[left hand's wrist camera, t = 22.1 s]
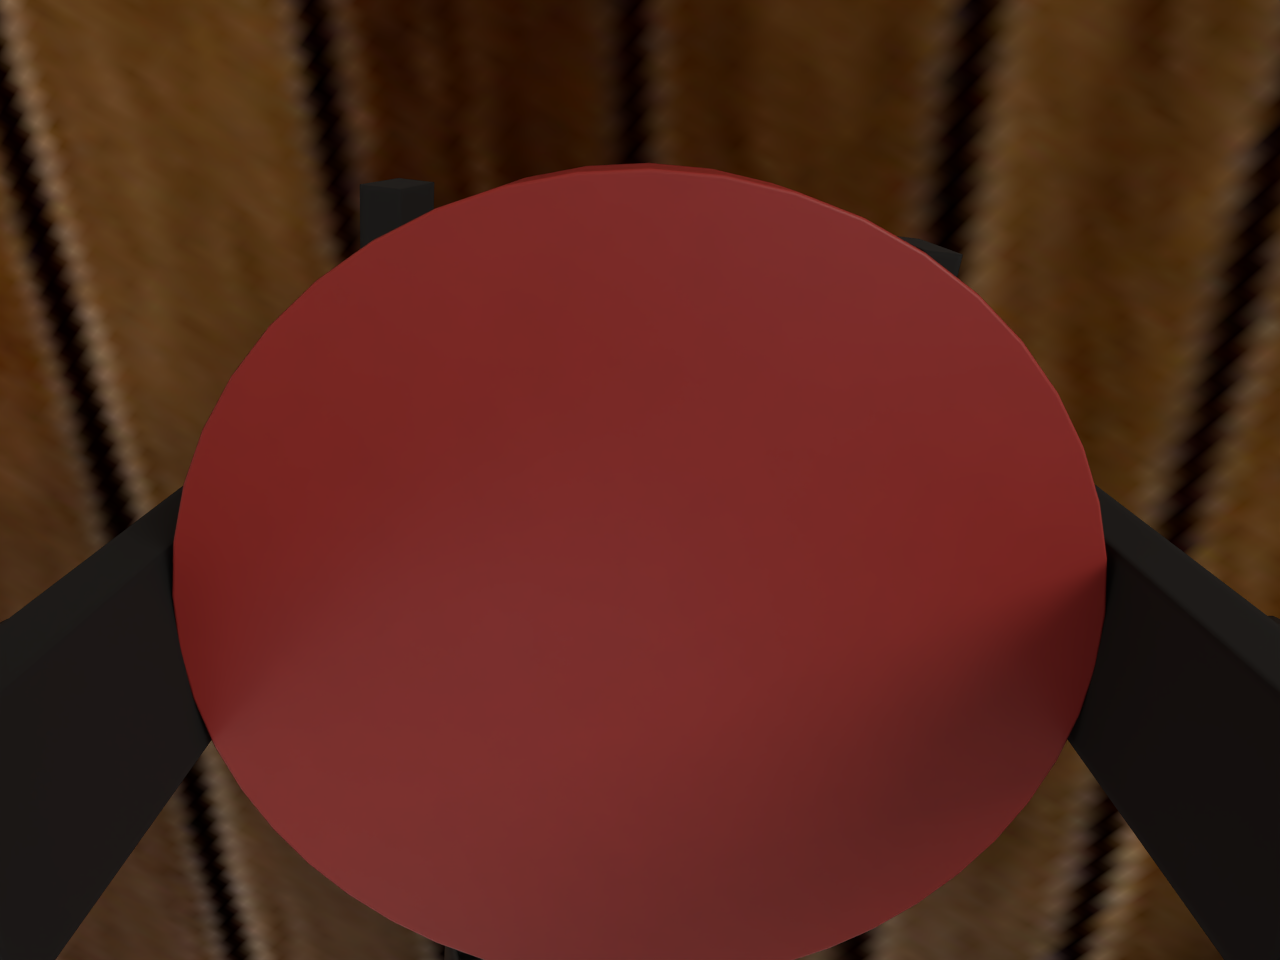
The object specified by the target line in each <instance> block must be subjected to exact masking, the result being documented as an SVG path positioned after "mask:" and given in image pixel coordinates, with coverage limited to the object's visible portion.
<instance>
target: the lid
mask: <svg viewBox="0 0 1280 960" xmlns="http://www.w3.org/2000/svg"><path fill="white" fill-rule="evenodd" d="M1106 571H1107V556H1106V548H1105V541H1104V533H1103V525H1102V517H1101V509H1100V502H1099V499H1098V495H1097V492H1096V488H1095V485H1094V482H1093V478H1092V475H1091V471H1090V468H1089V464H1088V461H1087V458H1086V454H1085V451H1084V447H1083V445H1082V443H1081V441H1080V439H1079V437H1078V435H1077V432H1076V430H1075V428H1074V426H1073V424H1072V422H1071V420H1070V418H1069V416H1068V413H1067V411H1066V409H1065V407H1064V405H1063V403H1062V401H1061V399H1060V397H1059V394H1058V393H1057V391H1056V390H1055V388H1054V387H1053V385H1052V384H1051V382H1050V381H1049V379H1048V378H1047V376H1046V375H1045V374H1044V372H1043V371H1042V369H1041V368H1040V366H1039V365H1038V363H1037V362H1036V360H1035V359H1034V357H1033V356H1032V355H1031V353H1030V352H1029V350H1028V349H1027V347H1026V346H1025V344H1024V343H1023V341H1022V340H1021V339H1020V338H1019V337H1018V336H1017V335H1016V334H1015V333H1014V332H1013V331H1012V330H1011V329H1010V328H1009V326H1008V325H1007V324H1006V323H1005V322H1004V321H1003V320H1002V319H1001V318H1000V317H999V316H998V315H997V314H996V313H995V312H994V311H993V309H992V308H991V307H990V306H989V305H988V304H987V303H986V302H985V301H984V300H983V299H982V298H981V297H980V296H979V295H978V294H977V293H976V292H975V291H973V290H972V289H971V288H970V287H968V286H967V285H966V284H965V283H963V282H962V281H961V280H959V279H958V278H957V277H956V276H954V275H953V274H952V273H951V272H949V271H948V270H947V269H945V268H944V267H943V266H942V265H940V264H939V263H938V262H936V261H935V260H934V259H933V258H931V257H930V256H929V255H928V254H926V253H925V252H923V251H922V250H920V249H918V248H916V247H914V246H913V245H911V244H909V243H907V242H906V241H904V240H902V239H900V238H899V237H897V236H895V235H893V234H892V233H890V232H888V231H886V230H885V229H883V228H881V227H879V226H878V225H876V224H874V223H872V222H871V221H869V220H867V219H865V218H863V217H861V216H858V215H856V214H853V213H851V212H848V211H845V210H843V209H840V208H838V207H835V206H833V205H830V204H828V203H825V202H822V201H820V200H817V199H815V198H812V197H810V196H807V195H805V194H802V193H799V192H797V191H794V190H791V189H788V188H785V187H782V186H779V185H776V184H773V183H770V182H765V181H761V180H757V179H753V178H748V177H744V176H740V175H736V174H731V173H727V172H723V171H719V170H715V169H708V168H697V167H687V166H676V165H665V164H654V163H640V164H620V165H599V166H585V167H579V168H574V169H569V170H564V171H558V172H553V173H548V174H542V175H537V176H532V177H527V178H523V179H520V180H517V181H515V182H512V183H509V184H506V185H503V186H500V187H497V188H494V189H491V190H488V191H485V192H482V193H479V194H476V195H474V196H471V197H468V198H465V199H462V200H459V201H456V202H453V203H450V204H447V205H444V206H441V207H438V208H435V209H433V210H431V211H429V212H427V213H425V214H424V215H422V216H420V217H418V218H416V219H414V220H412V221H410V222H408V223H406V224H404V225H402V226H400V227H398V228H396V229H394V230H392V231H390V232H388V233H386V234H384V235H382V236H380V237H379V238H377V239H375V240H373V241H371V242H370V243H368V244H367V245H365V246H364V247H363V248H361V249H360V250H358V251H357V252H356V253H354V254H353V255H351V256H350V257H349V258H347V259H346V260H344V261H343V262H342V263H340V264H339V265H337V266H336V267H335V268H333V269H332V270H330V271H329V272H328V273H326V274H325V275H323V276H322V277H321V278H319V279H318V280H316V281H315V282H314V283H313V284H312V285H311V286H310V287H309V288H308V289H307V290H306V291H305V292H304V293H303V294H302V295H301V296H300V297H299V298H298V299H297V300H296V301H295V302H294V303H293V304H292V305H291V306H289V307H288V308H287V309H286V310H285V311H284V312H283V313H282V314H281V315H280V316H279V317H278V318H277V319H276V320H275V321H274V322H273V323H272V324H271V325H270V326H269V327H268V328H267V330H266V331H265V332H264V334H263V335H262V336H261V338H260V339H259V340H258V342H257V343H256V344H255V346H254V347H253V348H252V350H251V351H250V352H249V353H248V355H247V356H246V357H245V359H244V360H243V361H242V363H241V364H240V365H239V367H238V368H237V369H236V371H235V372H234V373H233V375H232V376H231V378H230V379H229V381H228V383H227V385H226V387H225V389H224V391H223V393H222V394H221V396H220V398H219V400H218V402H217V404H216V406H215V407H214V409H213V411H212V413H211V415H210V417H209V419H208V421H207V422H206V424H205V426H204V428H203V430H202V433H201V436H200V439H199V442H198V444H197V447H196V450H195V453H194V456H193V459H192V462H191V465H190V467H189V470H188V473H187V476H186V479H185V482H184V485H183V490H182V496H181V502H180V507H179V513H178V519H177V524H176V530H175V535H174V541H173V588H172V597H173V605H174V612H175V620H176V627H177V633H178V638H179V643H180V648H181V652H182V656H183V660H184V664H185V668H186V672H187V676H188V680H189V684H190V688H191V691H192V695H193V698H194V701H195V703H196V705H197V708H198V710H199V712H200V714H201V717H202V719H203V721H204V723H205V726H206V728H207V730H208V732H209V735H210V737H211V739H212V741H213V744H214V746H215V747H216V749H217V751H218V752H219V754H220V756H221V757H222V759H223V760H224V762H225V764H226V765H227V767H228V769H229V770H230V772H231V773H232V775H233V777H234V778H235V780H236V782H237V783H238V785H239V786H240V788H241V790H242V791H243V792H244V793H245V795H246V796H247V797H248V798H249V800H250V801H251V802H252V803H253V805H254V806H255V807H256V808H257V809H258V811H259V812H260V813H261V814H262V816H263V817H264V818H265V819H266V821H267V822H268V823H269V824H270V826H271V827H272V828H273V829H274V830H275V831H276V832H277V833H278V834H279V835H280V836H281V837H282V838H283V839H284V840H285V841H286V842H287V843H288V844H289V845H290V846H291V847H292V848H293V849H294V850H295V851H296V852H297V853H298V854H299V855H300V856H301V857H302V858H304V859H305V860H306V861H307V862H308V863H309V864H310V865H311V866H312V867H314V868H315V869H316V870H318V871H319V872H320V873H321V874H323V875H324V876H325V877H327V878H328V879H329V880H330V881H332V882H333V883H334V884H336V885H337V886H338V887H340V888H341V889H342V890H343V891H345V892H346V893H347V894H349V895H350V896H352V897H353V898H355V899H357V900H358V901H360V902H361V903H363V904H365V905H366V906H368V907H370V908H371V909H373V910H375V911H376V912H378V913H379V914H381V915H383V916H384V917H386V918H388V919H389V920H391V921H393V922H395V923H397V924H399V925H401V926H403V927H405V928H407V929H409V930H411V931H414V932H416V933H418V934H420V935H422V936H424V937H426V938H428V939H430V940H432V941H434V942H436V943H439V944H442V945H445V946H447V947H450V948H453V949H456V950H458V951H461V952H464V953H467V954H470V955H472V956H475V957H478V958H481V959H483V960H794V959H798V958H801V957H804V956H807V955H810V954H813V953H816V952H819V951H822V950H825V949H828V948H830V947H833V946H835V945H837V944H839V943H842V942H844V941H846V940H848V939H851V938H853V937H855V936H858V935H860V934H862V933H864V932H867V931H869V930H871V929H873V928H875V927H877V926H879V925H880V924H882V923H884V922H886V921H888V920H889V919H891V918H893V917H895V916H896V915H898V914H900V913H902V912H903V911H905V910H907V909H909V908H910V907H912V906H914V905H916V904H917V903H919V902H920V901H922V900H923V899H924V898H926V897H927V896H928V895H930V894H931V893H933V892H934V891H935V890H937V889H938V888H940V887H941V886H942V885H944V884H945V883H946V882H948V881H949V880H951V879H952V878H953V877H955V876H956V875H958V874H959V873H960V872H961V871H962V870H963V869H964V868H965V867H966V866H968V865H969V864H970V863H971V862H972V861H973V860H974V859H975V858H976V857H978V856H979V855H980V854H981V853H982V852H983V851H984V850H985V849H986V848H987V847H989V846H990V845H991V844H992V843H993V842H994V841H995V840H996V839H997V838H998V837H999V836H1000V834H1001V833H1002V832H1003V831H1004V830H1005V829H1006V827H1007V826H1008V825H1009V824H1010V823H1011V822H1012V821H1013V819H1014V818H1015V817H1016V816H1017V815H1018V814H1019V813H1020V811H1021V810H1022V809H1023V808H1024V807H1025V806H1026V804H1027V803H1028V802H1029V801H1030V799H1031V798H1032V796H1033V795H1034V793H1035V792H1036V790H1037V789H1038V787H1039V786H1040V784H1041V783H1042V781H1043V780H1044V778H1045V777H1046V775H1047V774H1048V772H1049V771H1050V769H1051V768H1052V766H1053V765H1054V763H1055V762H1056V761H1057V759H1058V757H1059V755H1060V753H1061V751H1062V749H1063V747H1064V745H1065V743H1066V741H1067V739H1068V737H1069V734H1070V732H1071V730H1072V728H1073V726H1074V724H1075V722H1076V720H1077V718H1078V716H1079V714H1080V711H1081V708H1082V705H1083V702H1084V699H1085V696H1086V693H1087V690H1088V687H1089V684H1090V681H1091V678H1092V675H1093V671H1094V667H1095V663H1096V658H1097V653H1098V649H1099V644H1100V640H1101V634H1102V629H1103V623H1104V618H1105V609H1106Z"/></svg>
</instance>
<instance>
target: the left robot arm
mask: <svg viewBox="0 0 1280 960" xmlns="http://www.w3.org/2000/svg"><path fill="white" fill-rule="evenodd" d="M1094 485H1095V484H1094ZM1095 488H1096V492H1097V495H1098V499H1099V502H1100V509H1101V517H1102V525H1103V533H1104V541H1105V548H1106V556H1107V571H1106V609H1105V618H1104V623H1103V629H1102V634H1101V640H1100V644H1099V649H1098V653H1097V658H1096V663H1095V667H1094V671H1093V675H1092V678H1091V681H1090V684H1089V687H1088V690H1087V693H1086V696H1085V699H1084V702H1083V705H1082V708H1081V711H1080V714H1079V716H1078V718H1077V720H1076V722H1075V724H1074V726H1073V728H1072V730H1071V732H1070V734H1069V737H1068V741H1069V742H1070V743H1071V745H1072V746H1073V748H1074V749H1075V750H1076V752H1077V753H1078V755H1079V756H1080V758H1081V759H1082V760H1083V762H1084V763H1085V765H1086V766H1087V767H1088V769H1089V770H1090V772H1091V773H1092V774H1093V776H1094V777H1095V779H1096V780H1097V781H1098V783H1099V784H1100V786H1101V787H1102V788H1103V790H1104V791H1105V793H1106V794H1107V795H1108V797H1109V798H1110V800H1111V801H1112V803H1113V804H1114V805H1115V807H1116V808H1117V810H1118V811H1119V812H1120V814H1121V815H1122V817H1123V818H1124V819H1125V821H1126V822H1127V824H1128V825H1129V826H1130V828H1131V829H1132V831H1133V832H1134V833H1135V835H1136V836H1137V838H1138V839H1139V840H1140V842H1141V843H1142V845H1143V846H1144V848H1145V849H1146V850H1147V852H1148V853H1149V855H1150V856H1151V857H1152V859H1153V860H1154V862H1155V863H1156V864H1157V866H1158V867H1159V869H1160V870H1161V871H1162V873H1163V874H1164V876H1165V877H1166V878H1167V880H1168V881H1169V883H1170V884H1171V885H1172V887H1173V888H1174V890H1175V891H1176V893H1177V894H1178V895H1179V897H1180V898H1181V900H1182V901H1183V902H1184V904H1185V905H1186V907H1187V908H1188V909H1189V911H1190V912H1191V914H1192V915H1193V916H1194V918H1195V919H1196V921H1197V922H1198V923H1199V925H1200V926H1201V928H1202V929H1203V931H1204V932H1205V933H1206V935H1207V936H1208V938H1209V939H1210V940H1211V942H1212V943H1213V945H1214V946H1215V947H1216V949H1217V950H1218V952H1219V953H1220V954H1221V956H1222V957H1223V959H1224V960H1280V619H1278V618H1276V617H1274V616H1267V615H1265V614H1264V613H1263V612H1261V611H1260V610H1259V609H1257V608H1256V607H1255V606H1253V605H1252V604H1251V603H1250V602H1248V601H1247V600H1246V599H1244V598H1243V597H1242V596H1240V595H1239V594H1238V593H1236V592H1235V591H1234V590H1232V589H1231V588H1230V587H1229V586H1227V585H1226V584H1225V583H1223V582H1222V581H1221V580H1219V579H1218V578H1217V577H1215V576H1214V575H1213V574H1211V573H1210V572H1209V571H1208V570H1206V569H1205V568H1204V567H1202V566H1201V565H1200V564H1198V563H1197V562H1196V561H1194V560H1193V559H1192V558H1190V557H1189V556H1188V555H1187V554H1185V553H1184V552H1183V551H1181V550H1180V549H1179V548H1177V547H1176V546H1175V545H1173V544H1172V543H1171V542H1169V541H1168V540H1167V539H1166V538H1164V537H1163V536H1162V535H1160V534H1159V533H1158V532H1156V531H1155V530H1154V529H1152V528H1151V527H1150V526H1148V525H1147V524H1146V523H1145V522H1143V521H1142V520H1141V519H1139V518H1138V517H1137V516H1135V515H1134V514H1133V513H1131V512H1130V511H1129V510H1127V509H1126V508H1125V507H1124V506H1122V505H1121V504H1120V503H1118V502H1117V501H1116V500H1114V499H1113V498H1112V497H1110V496H1109V495H1108V494H1106V493H1105V492H1104V491H1102V490H1101V489H1100V488H1099V487H1097V486H1096V485H1095ZM182 490H183V486H182V487H181V488H180V489H178V490H177V491H176V492H174V493H173V494H172V495H170V496H169V497H168V498H166V499H165V500H164V501H162V502H161V503H160V504H159V505H157V506H156V507H155V508H153V509H152V510H151V511H149V512H148V513H147V514H145V515H144V516H143V517H141V518H140V519H139V520H138V521H136V522H135V523H134V524H132V525H131V526H130V527H128V528H127V529H126V530H124V531H123V532H122V533H120V534H119V535H118V536H117V537H115V538H114V539H113V540H111V541H110V542H109V543H107V544H106V545H105V546H103V547H102V548H101V549H99V550H98V551H97V552H95V553H94V554H93V555H92V556H90V557H89V558H88V559H86V560H85V561H84V562H82V563H81V564H80V565H78V566H77V567H76V568H74V569H73V570H72V571H71V572H69V573H68V574H67V575H65V576H64V577H63V578H61V579H60V580H59V581H57V582H56V583H55V584H53V585H52V586H51V587H50V588H48V589H47V590H46V591H44V592H43V593H42V594H40V595H39V596H38V597H36V598H35V599H34V600H32V601H31V602H30V603H29V604H27V605H26V606H25V607H23V608H22V609H21V610H19V611H18V612H17V613H15V614H14V615H13V616H11V617H10V618H9V619H6V620H4V621H2V622H0V960H55V959H56V958H57V956H58V955H59V954H60V952H61V951H62V949H63V948H64V947H65V945H66V944H67V942H68V941H69V940H70V938H71V937H72V935H73V934H74V932H75V931H76V930H77V928H78V927H79V925H80V924H81V923H82V921H83V920H84V918H85V917H86V916H87V914H88V913H89V911H90V910H91V909H92V907H93V906H94V904H95V903H96V902H97V900H98V899H99V897H100V896H101V895H102V893H103V892H104V890H105V889H106V887H107V886H108V885H109V883H110V882H111V880H112V879H113V878H114V876H115V875H116V873H117V872H118V871H119V869H120V868H121V866H122V865H123V864H124V862H125V861H126V859H127V858H128V857H129V855H130V854H131V852H132V851H133V850H134V848H135V847H136V845H137V844H138V842H139V841H140V840H141V838H142V837H143V835H144V834H145V833H146V831H147V830H148V828H149V827H150V826H151V824H152V823H153V821H154V820H155V819H156V817H157V816H158V814H159V813H160V812H161V810H162V809H163V807H164V806H165V805H166V803H167V802H168V800H169V799H170V797H171V796H172V795H173V793H174V792H175V790H176V789H177V788H178V786H179V785H180V783H181V782H182V781H183V779H184V778H185V776H186V775H187V774H188V772H189V771H190V769H191V768H192V767H193V765H194V764H195V762H196V761H197V760H198V758H199V757H200V755H201V754H202V752H203V751H204V750H205V748H206V747H207V745H208V744H209V743H210V741H211V740H212V739H211V737H210V735H209V732H208V730H207V728H206V726H205V723H204V721H203V719H202V717H201V714H200V712H199V710H198V708H197V705H196V703H195V701H194V698H193V695H192V691H191V688H190V684H189V680H188V676H187V672H186V668H185V664H184V660H183V656H182V652H181V648H180V643H179V638H178V633H177V627H176V620H175V612H174V605H173V597H172V588H173V541H174V535H175V530H176V524H177V519H178V513H179V507H180V502H181V496H182Z"/></svg>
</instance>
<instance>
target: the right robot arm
mask: <svg viewBox="0 0 1280 960" xmlns="http://www.w3.org/2000/svg"><path fill="white" fill-rule="evenodd" d="M433 209H434V182H427V181H418V180H410V179H401V178H397V179H391V180H385V181H379V182H373V183H367V184H360V248H363V247H364V246H365V245H367V244H368V243H370V242H371V241H373V240H375V239H377V238H379V237H380V236H382V235H384V234H386V233H388V232H390V231H392V230H394V229H396V228H398V227H400V226H402V225H404V224H406V223H408V222H410V221H412V220H414V219H416V218H418V217H420V216H422V215H424V214H425V213H427V212H429V211H431V210H433ZM897 237H898V236H897ZM899 238H900V239H902V240H904V241H906V242H907V243H909V244H911V245H913V246H914V247H916V248H918V249H920V250H922V251H923V252H925V253H926V254H928V255H929V256H930V257H931V258H933V259H934V260H935V261H936V262H938V263H939V264H940V265H942V266H943V267H944V268H945V269H947V270H948V271H949V272H951V273H952V274H953V275H954V276H956V277H957V276H958V271H959V267H960V263H961V259H962V254H960V253H957V252H954V251H951V250H948V249H946V248H943V247H940V246H937V245H935V244H932V243H929V242H926V241H923V240H921V239H915V238H907V237H899ZM444 960H483V959H481V958H478V957H475V956H472V955H470V954H467V953H464V952H461V951H458V950H456V949H453V948H450V947H447V946H445V959H444Z"/></svg>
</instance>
